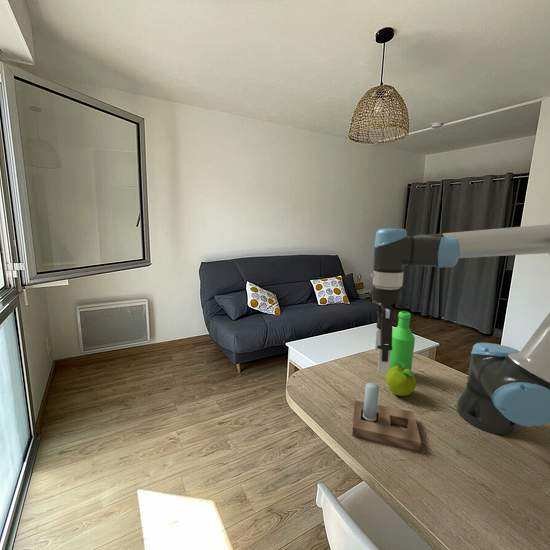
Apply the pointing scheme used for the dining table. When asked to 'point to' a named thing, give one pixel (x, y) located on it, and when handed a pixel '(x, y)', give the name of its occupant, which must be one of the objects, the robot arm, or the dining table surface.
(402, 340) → the bottle
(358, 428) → the board
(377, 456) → the dining table surface
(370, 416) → the peg
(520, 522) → the dining table surface
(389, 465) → the dining table surface
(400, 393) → the fruit
